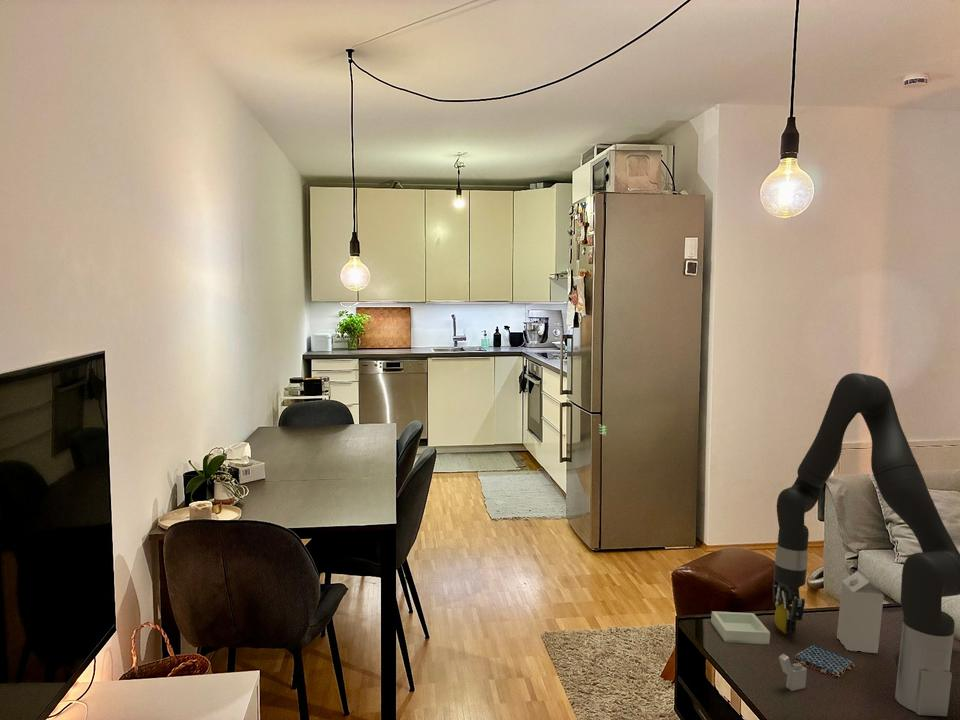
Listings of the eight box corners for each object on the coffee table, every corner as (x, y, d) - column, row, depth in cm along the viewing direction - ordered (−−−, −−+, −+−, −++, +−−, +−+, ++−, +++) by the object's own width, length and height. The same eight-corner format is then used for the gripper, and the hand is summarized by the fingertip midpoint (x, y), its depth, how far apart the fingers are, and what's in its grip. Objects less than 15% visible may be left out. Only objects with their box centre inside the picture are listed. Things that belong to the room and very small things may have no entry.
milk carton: (865, 640, 185) (872, 568, 183) (877, 654, 178) (885, 578, 176) (836, 638, 186) (843, 565, 184) (847, 651, 178) (855, 576, 177)
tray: (769, 644, 180) (770, 632, 180) (724, 642, 180) (725, 630, 180) (752, 624, 191) (753, 613, 191) (710, 622, 191) (711, 611, 191)
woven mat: (791, 663, 172) (791, 654, 172) (812, 650, 179) (812, 642, 179) (835, 682, 164) (836, 673, 164) (856, 668, 171) (856, 660, 171)
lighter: (799, 683, 162) (802, 649, 161) (805, 687, 160) (809, 652, 159) (775, 689, 159) (778, 654, 158) (781, 693, 157) (784, 657, 157)
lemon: (768, 630, 188) (770, 600, 187) (783, 627, 190) (786, 597, 189) (785, 639, 183) (788, 609, 182) (801, 636, 185) (804, 606, 184)
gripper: (818, 575, 178) (812, 641, 179) (793, 554, 192) (787, 616, 193) (788, 573, 178) (782, 640, 179) (765, 553, 192) (759, 614, 193)
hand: (785, 627), depth 186 cm, fingers closed on lemon, 5 cm apart
